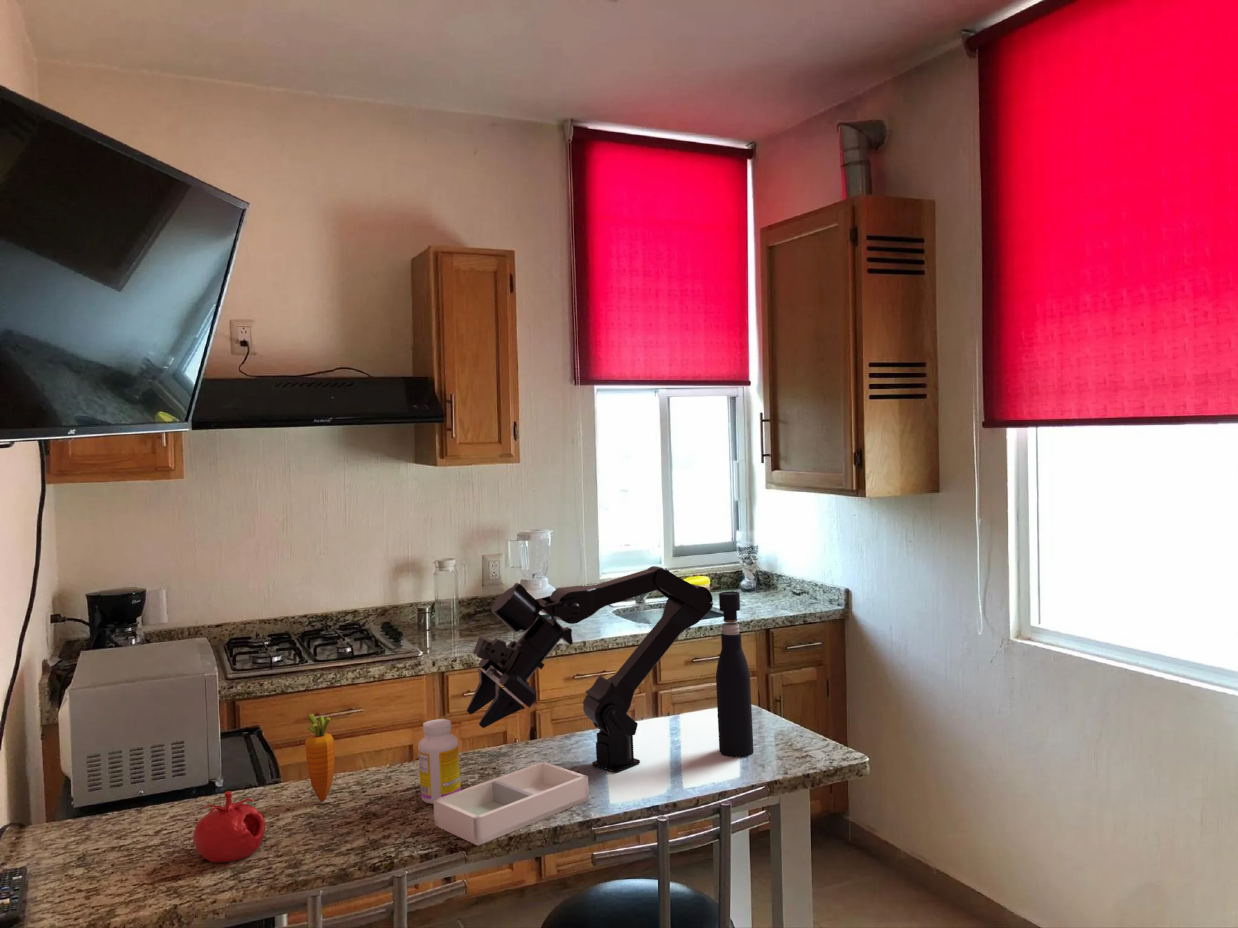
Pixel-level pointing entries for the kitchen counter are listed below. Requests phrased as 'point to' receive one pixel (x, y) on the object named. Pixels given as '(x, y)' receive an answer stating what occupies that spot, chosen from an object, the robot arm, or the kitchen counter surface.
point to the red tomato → (229, 831)
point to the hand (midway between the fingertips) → (474, 719)
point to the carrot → (320, 757)
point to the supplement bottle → (438, 761)
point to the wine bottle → (733, 685)
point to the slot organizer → (510, 802)
